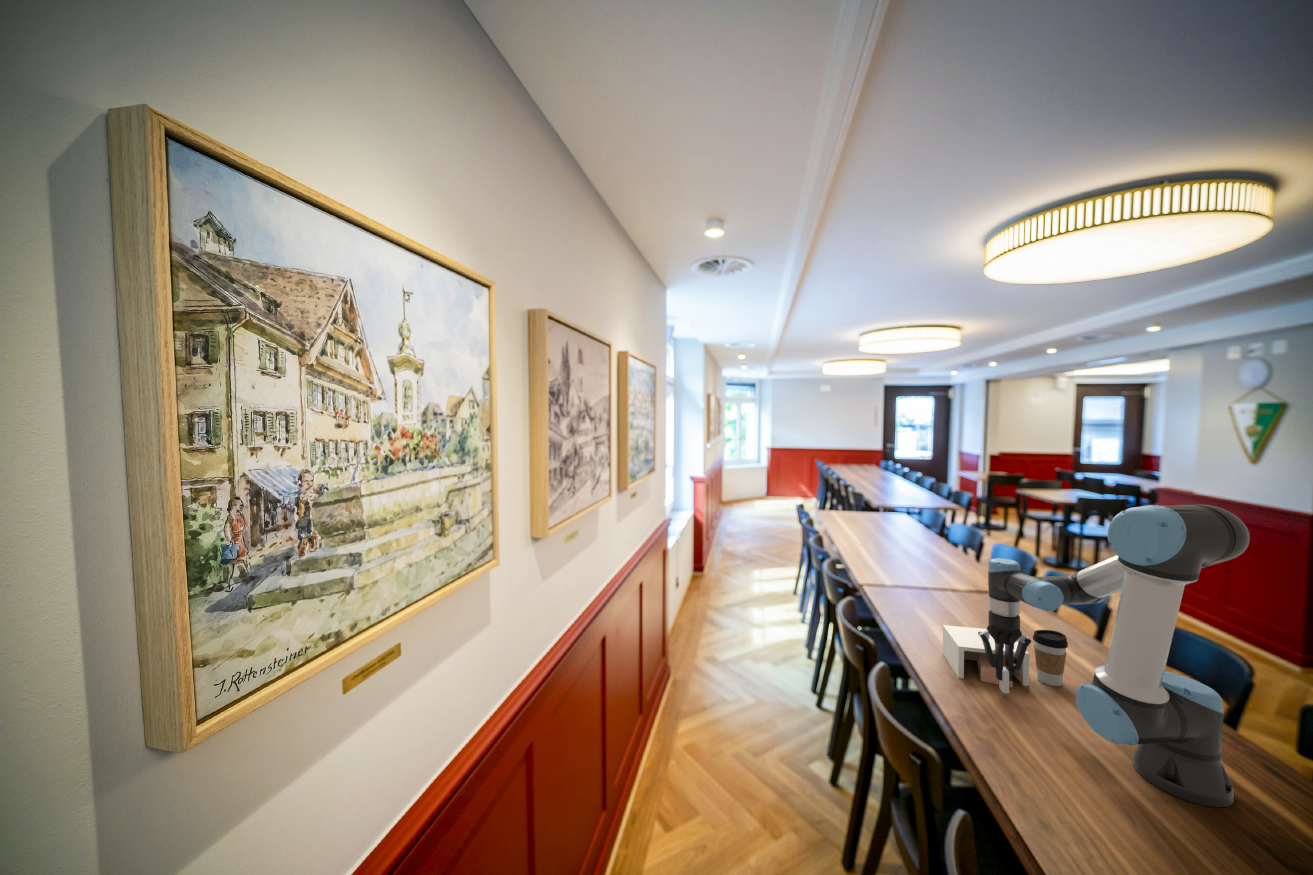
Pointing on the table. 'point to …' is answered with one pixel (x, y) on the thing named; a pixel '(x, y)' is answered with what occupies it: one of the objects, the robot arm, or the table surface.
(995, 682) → the pink clay brick
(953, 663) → the shelf
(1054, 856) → the table surface
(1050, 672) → the coffee cup
